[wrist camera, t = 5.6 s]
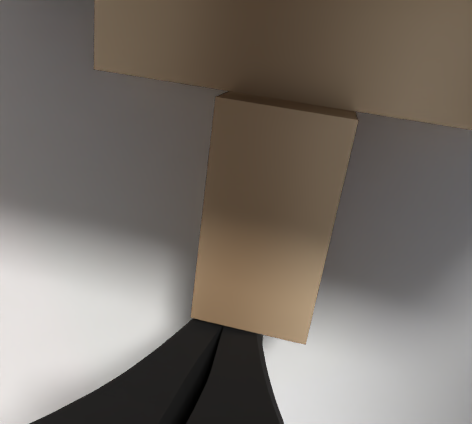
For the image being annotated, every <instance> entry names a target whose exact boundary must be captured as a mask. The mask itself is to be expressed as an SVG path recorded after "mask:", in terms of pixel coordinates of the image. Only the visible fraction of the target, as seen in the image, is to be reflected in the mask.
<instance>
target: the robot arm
mask: <svg viewBox="0 0 472 424" xmlns="http://www.w3.org/2000/svg"><path fill="white" fill-rule="evenodd" d="M262 341H263V334H258V333H254V332H250V331H246V330H241V329H237V328H233V327H229V326H224V325H220V324H216V323H212V322H207V321H203V320H199V319H194V318H193V319H192V320H191V321H189V322H188V323H187V324H186V325H185V326H184V327H183V328H181V329H180V330H179V331H178V332H177V333H176V334H174V335H173V336H172V337H171V338H170V339H168V340H167V341H166V342H165V343H164V344H162V345H161V346H160V347H159V348H157V349H156V350H155V351H153V352H152V353H151V354H149V355H148V356H147V357H145V358H144V359H143V360H141V361H140V362H139V363H137V364H136V365H135V366H133V367H132V368H130V369H129V370H127V371H126V372H124V373H123V374H121V375H120V376H118V377H117V378H115V379H113V380H112V381H110V382H108V383H107V384H105V385H104V386H102V387H100V388H99V389H97V390H95V391H93V392H92V393H90V394H88V395H86V396H84V397H82V398H80V399H78V400H76V401H74V402H73V403H71V404H69V405H67V406H65V407H63V408H61V409H59V410H57V411H55V412H53V413H51V414H49V415H47V416H45V417H43V418H41V419H38V420H36V421H34V422H32V423H29V424H284V422H283V419H282V417H281V414H280V411H279V409H278V406H277V403H276V400H275V397H274V393H273V390H272V386H271V383H270V379H269V376H268V371H267V367H266V362H265V357H264V352H263V346H262Z"/></svg>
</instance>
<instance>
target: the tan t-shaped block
mask: <svg viewBox="0 0 472 424" xmlns="http://www.w3.org/2000/svg"><path fill="white" fill-rule="evenodd" d="M94 70H100V71H106V72H113V73H119V74H125V75H131V76H137V77H144V78H150V79H156V80H162V81H169V82H175V83H181V84H187V85H194V86H200V87H206V88H212V89H219V90H225V91H228V92H226V93H223V94H221V95H218V96H216V97H215V104H214V113H213V122H212V131H211V140H210V148H209V157H208V166H207V175H206V184H205V193H204V202H203V211H202V220H201V229H200V238H199V247H198V256H197V265H196V274H195V283H194V292H193V300H192V309H191V318H194V319H199V320H203V321H207V322H212V323H216V324H220V325H224V326H229V327H233V328H237V329H241V330H246V331H250V332H254V333H258V334H263V335H267V336H271V337H275V338H280V339H284V340H288V341H292V342H297V343H301V344H305V345H306V341H307V336H308V332H309V328H310V324H311V319H312V315H313V311H314V307H315V302H316V298H317V294H318V290H319V286H320V281H321V277H322V273H323V269H324V264H325V260H326V256H327V252H328V247H329V243H330V239H331V235H332V231H333V226H334V222H335V218H336V214H337V209H338V205H339V201H340V197H341V192H342V188H343V184H344V180H345V176H346V171H347V167H348V163H349V159H350V154H351V150H352V146H353V142H354V137H355V133H356V129H357V125H358V121H359V120H358V118H357V115H356V113H355V111H356V112H362V113H368V114H374V115H381V116H387V117H393V118H399V119H406V120H412V121H418V122H424V123H430V124H437V125H443V126H449V127H455V128H462V129H468V130H472V0H94Z"/></svg>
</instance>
